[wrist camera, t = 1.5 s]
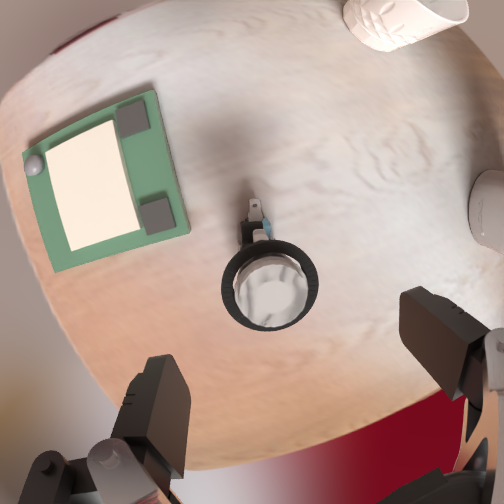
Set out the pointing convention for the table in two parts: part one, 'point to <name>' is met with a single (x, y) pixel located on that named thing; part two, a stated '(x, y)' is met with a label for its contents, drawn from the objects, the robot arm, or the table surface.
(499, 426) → the robot arm
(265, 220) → the push button
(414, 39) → the white cup
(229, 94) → the table surface
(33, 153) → the board
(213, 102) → the table surface
